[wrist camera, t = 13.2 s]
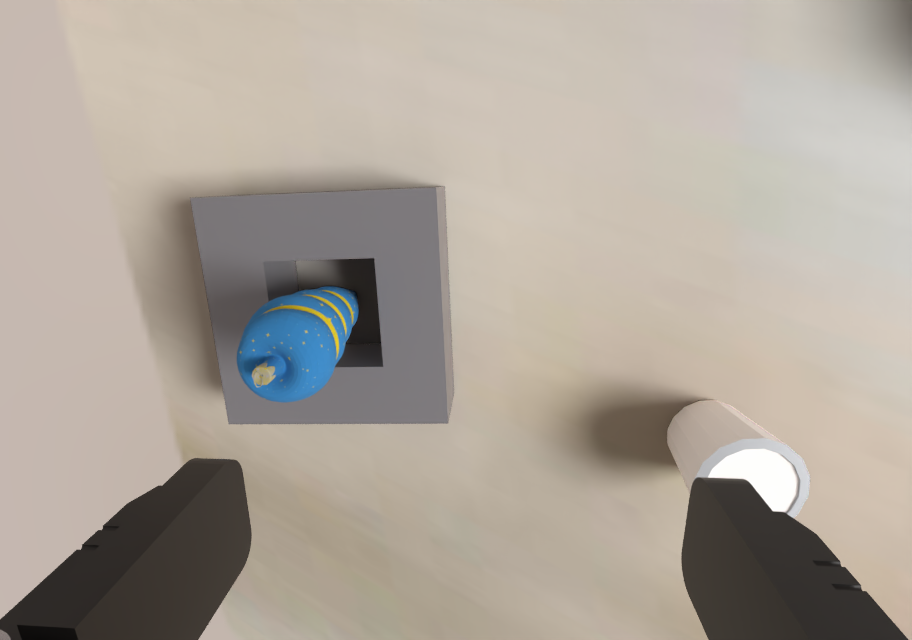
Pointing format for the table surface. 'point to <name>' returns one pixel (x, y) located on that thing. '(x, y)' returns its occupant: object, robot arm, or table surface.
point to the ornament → (296, 342)
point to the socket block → (324, 238)
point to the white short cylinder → (737, 454)
